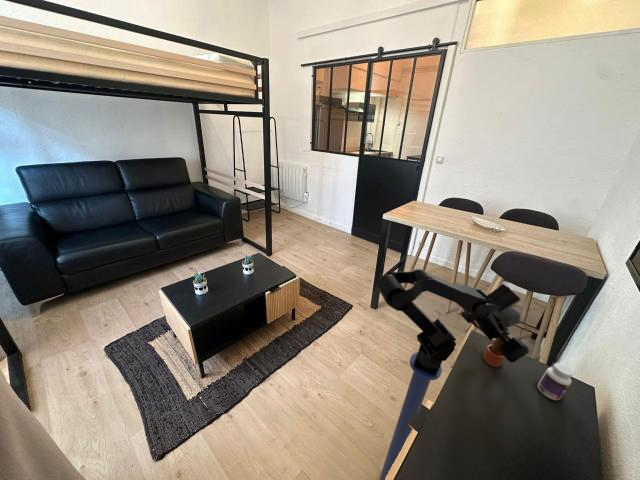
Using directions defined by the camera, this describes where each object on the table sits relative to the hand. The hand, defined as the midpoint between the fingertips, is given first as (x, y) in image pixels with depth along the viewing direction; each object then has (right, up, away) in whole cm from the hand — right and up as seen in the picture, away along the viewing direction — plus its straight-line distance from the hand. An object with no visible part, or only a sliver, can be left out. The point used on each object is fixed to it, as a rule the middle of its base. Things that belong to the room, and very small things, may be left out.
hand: (503, 344), depth 81 cm
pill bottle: (+9, -12, -6) cm, 16 cm away
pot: (-2, -7, +3) cm, 7 cm away
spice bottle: (-2, -6, +2) cm, 7 cm away
